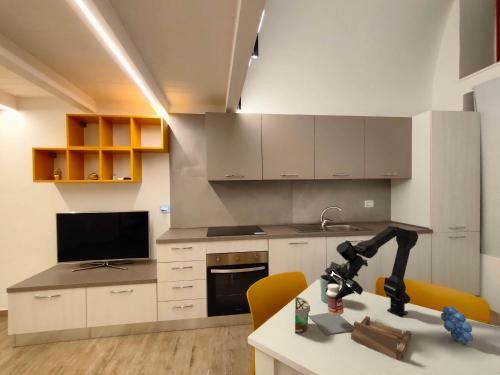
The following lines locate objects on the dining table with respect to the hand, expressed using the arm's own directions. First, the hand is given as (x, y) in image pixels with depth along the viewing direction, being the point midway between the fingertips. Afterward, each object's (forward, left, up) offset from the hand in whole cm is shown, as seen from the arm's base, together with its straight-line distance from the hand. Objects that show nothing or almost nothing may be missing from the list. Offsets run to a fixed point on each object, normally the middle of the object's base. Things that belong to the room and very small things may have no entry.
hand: (330, 295), depth 101 cm
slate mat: (-1, -1, -12) cm, 12 cm away
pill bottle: (-2, +1, -7) cm, 7 cm away
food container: (+12, -5, -13) cm, 18 cm away
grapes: (-32, +31, -12) cm, 47 cm away
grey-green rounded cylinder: (-17, -15, -13) cm, 26 cm away
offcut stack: (-14, +15, -13) cm, 24 cm away
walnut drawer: (-9, +16, -12) cm, 22 cm away
